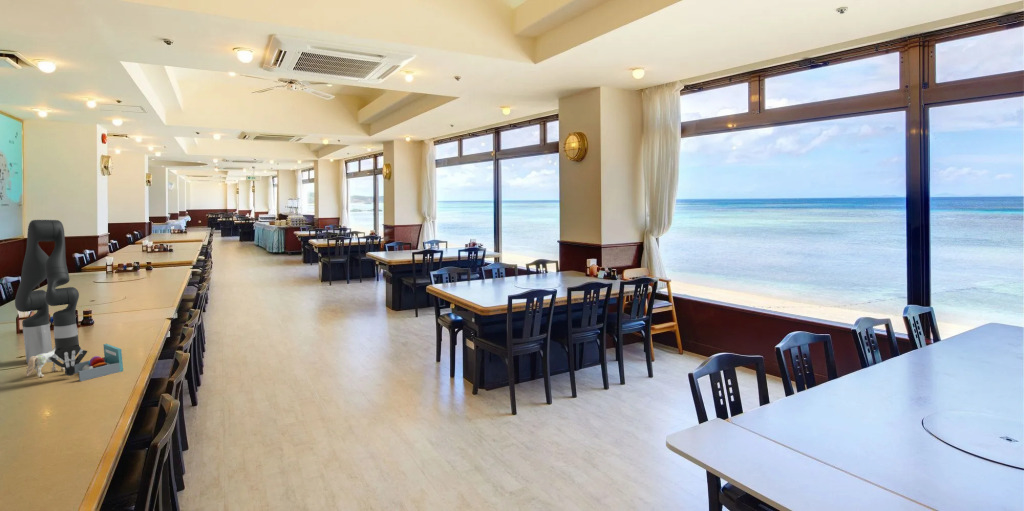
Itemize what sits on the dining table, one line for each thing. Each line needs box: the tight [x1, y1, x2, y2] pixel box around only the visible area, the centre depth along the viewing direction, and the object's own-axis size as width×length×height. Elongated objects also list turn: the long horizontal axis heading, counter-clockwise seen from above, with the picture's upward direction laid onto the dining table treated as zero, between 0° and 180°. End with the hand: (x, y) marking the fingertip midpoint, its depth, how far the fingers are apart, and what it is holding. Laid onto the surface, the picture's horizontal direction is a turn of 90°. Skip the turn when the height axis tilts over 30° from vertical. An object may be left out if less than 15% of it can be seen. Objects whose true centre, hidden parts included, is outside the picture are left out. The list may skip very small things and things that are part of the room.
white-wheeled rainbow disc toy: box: [83, 355, 109, 370], centre depth 225 cm, size 8×10×7 cm
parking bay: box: [73, 343, 124, 382], centre depth 224 cm, size 15×15×10 cm
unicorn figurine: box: [25, 345, 65, 378], centre depth 224 cm, size 7×20×13 cm, turn 4°
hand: (70, 375), depth 217 cm, fingers closed
